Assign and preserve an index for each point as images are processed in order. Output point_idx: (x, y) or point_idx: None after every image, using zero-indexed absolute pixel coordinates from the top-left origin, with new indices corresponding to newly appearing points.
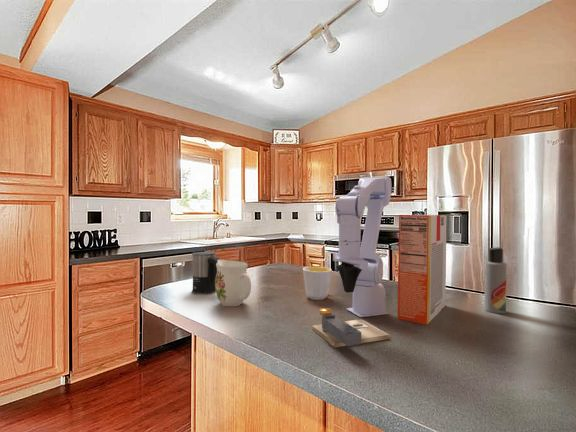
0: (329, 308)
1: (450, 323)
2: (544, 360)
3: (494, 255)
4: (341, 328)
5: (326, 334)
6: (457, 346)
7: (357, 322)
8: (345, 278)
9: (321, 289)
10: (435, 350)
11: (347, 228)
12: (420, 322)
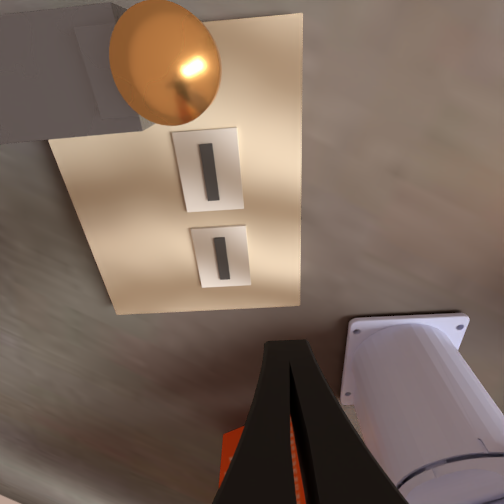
0: (191, 119)
1: (216, 470)
2: (2, 476)
3: None
4: None
5: None
6: (64, 412)
7: (268, 275)
8: (251, 467)
9: None
10: (33, 363)
11: None
12: (237, 430)
